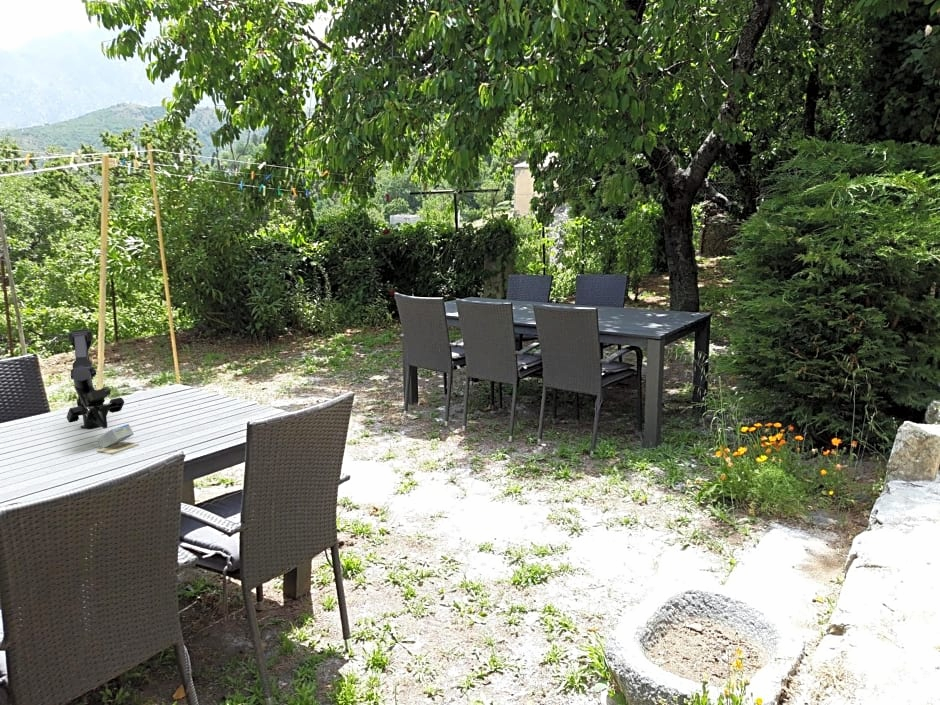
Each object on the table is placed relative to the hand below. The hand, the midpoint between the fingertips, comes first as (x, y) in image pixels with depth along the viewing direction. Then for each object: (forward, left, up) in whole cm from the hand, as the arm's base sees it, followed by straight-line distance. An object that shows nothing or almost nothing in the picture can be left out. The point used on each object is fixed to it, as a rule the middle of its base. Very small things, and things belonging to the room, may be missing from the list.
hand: (105, 427), depth 251 cm
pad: (+5, 0, -7) cm, 9 cm away
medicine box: (-1, +1, -5) cm, 6 cm away
